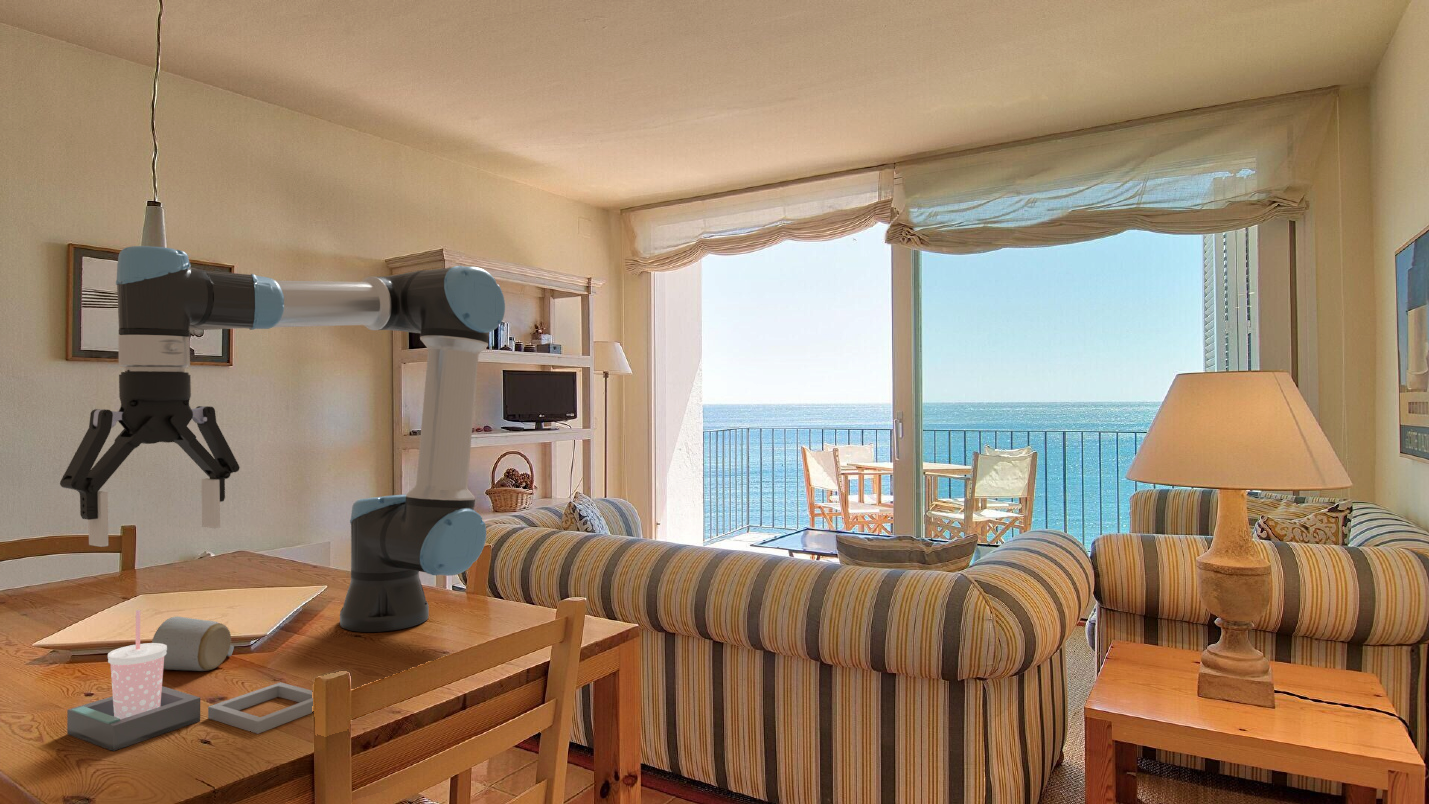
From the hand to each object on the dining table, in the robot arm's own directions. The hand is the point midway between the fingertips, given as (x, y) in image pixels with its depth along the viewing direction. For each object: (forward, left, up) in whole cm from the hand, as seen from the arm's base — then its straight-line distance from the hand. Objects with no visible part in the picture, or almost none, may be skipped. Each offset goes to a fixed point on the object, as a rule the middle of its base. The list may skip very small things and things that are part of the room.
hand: (158, 536), depth 104 cm
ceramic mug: (-14, -16, -24) cm, 32 cm away
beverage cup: (+3, +1, -23) cm, 23 cm away
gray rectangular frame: (-8, +11, -23) cm, 27 cm away
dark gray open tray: (+3, +1, -23) cm, 24 cm away
